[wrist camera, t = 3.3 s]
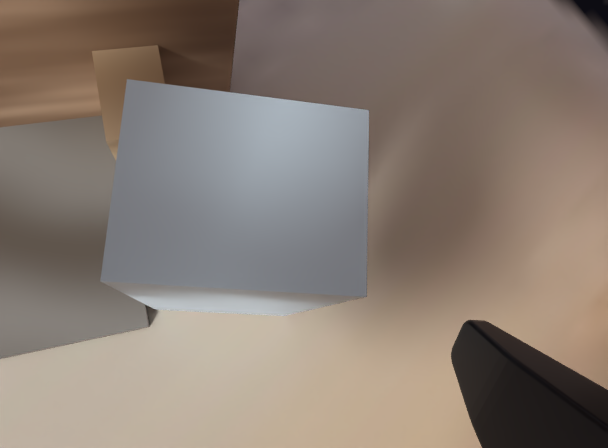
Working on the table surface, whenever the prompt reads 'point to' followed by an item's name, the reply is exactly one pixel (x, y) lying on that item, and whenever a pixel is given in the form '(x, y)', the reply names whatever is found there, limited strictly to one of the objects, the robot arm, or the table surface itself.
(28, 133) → the brown angular stand
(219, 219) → the pale blue beveled prism
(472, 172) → the table surface
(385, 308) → the table surface
